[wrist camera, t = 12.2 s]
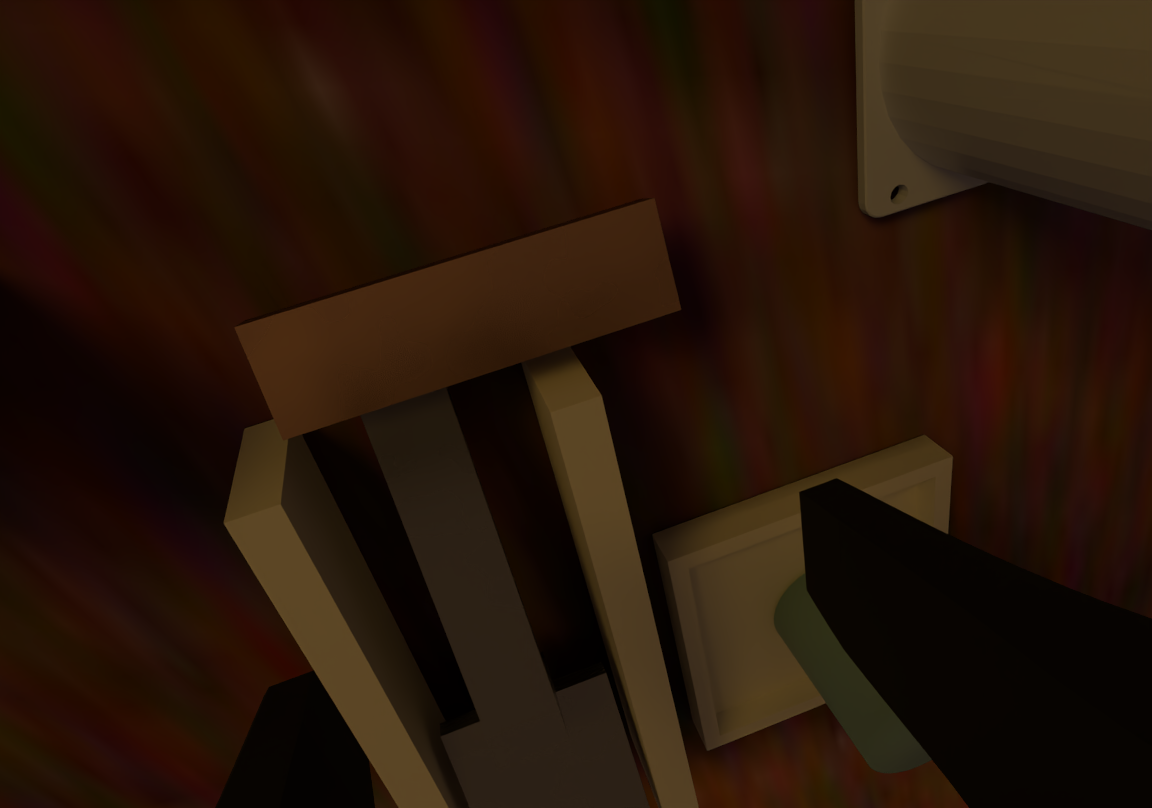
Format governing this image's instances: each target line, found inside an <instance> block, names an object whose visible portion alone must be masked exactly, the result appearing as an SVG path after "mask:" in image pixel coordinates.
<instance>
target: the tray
mask: <svg viewBox="0 0 1152 808" xmlns="http://www.w3.org/2000/svg"><path fill="white" fill-rule="evenodd" d="M952 461H953V456H952V455H951V454H949V453H948V452H947V451H945V450H944V449H943V448H941V447H940V446H939V445H937V444H936V443H935V442H933V441H932V440H931V439H930V438H928V437H927V436H926V435H922V436H919V437H917V438H914V439H911V440H909V441H906V442H903V443H900V444H898V445H895V446H892V447H889V448H887V449H884V450H881V451H878V452H876V453H873V454H870V455H867V456H865V457H862V458H859V459H856V460H854V461H851V462H848V463H846V464H843V465H840V466H837V467H835V468H832V469H829V470H826V471H824V472H821V473H818V474H815V475H813V476H810V477H807V478H804V479H802V480H799V481H796V482H793V483H791V484H788V485H785V486H782V487H780V488H777V489H774V490H772V491H769V492H766V493H763V494H761V495H758V496H755V497H752V498H750V499H747V500H744V501H741V502H739V503H736V504H733V505H730V506H728V507H725V508H722V509H719V510H717V511H714V512H711V513H708V514H706V515H703V516H700V517H698V518H695V519H692V520H689V521H687V522H684V523H681V524H678V525H676V526H673V527H670V528H667V529H665V530H662V531H659V532H656V533H654V534H652V537H653V542H654V546H655V551H656V556H657V560H658V565H659V569H660V574H661V578H662V583H663V588H664V592H665V597H666V601H667V606H668V610H669V615H670V620H671V624H672V629H673V633H674V638H675V642H676V647H677V652H678V656H679V661H680V665H681V670H682V674H683V679H684V684H685V688H686V693H687V697H688V702H689V706H690V711H691V716H692V720H693V723H694V725H695V727H696V729H697V731H698V733H699V735H700V737H701V739H702V741H703V743H704V745H705V747H706V750H707V751H709V750H711V749H714V748H716V747H719V746H721V745H724V744H726V743H729V742H731V741H734V740H736V739H739V738H741V737H743V736H746V735H748V734H751V733H753V732H756V731H758V730H761V729H763V728H766V727H768V726H771V725H773V724H776V723H778V722H780V721H783V720H785V719H788V718H790V717H793V716H795V715H798V714H800V713H803V712H805V711H808V710H810V709H812V708H815V707H817V706H820V705H822V704H825V703H826V702H825V701H824V699H823V698H822V696H821V695H820V693H819V692H818V691H817V689H816V688H815V686H814V685H813V683H812V682H811V680H810V679H809V677H808V676H807V675H806V673H805V672H804V670H803V669H802V667H801V666H800V664H799V663H798V661H797V660H796V658H795V657H794V656H793V654H792V653H791V651H790V650H789V648H788V647H787V645H786V644H785V642H784V641H783V639H782V638H781V637H780V635H779V634H778V632H777V630H776V628H775V625H774V613H775V609H776V607H777V604H778V602H779V600H780V598H781V597H782V595H783V594H784V592H785V591H786V590H787V589H788V588H789V586H790V585H791V584H792V583H793V582H794V581H796V580H797V579H798V578H799V577H800V576H802V575H803V574H805V563H804V550H803V537H802V524H801V511H800V498H799V492H800V491H803V490H806V489H808V488H811V487H814V486H817V485H819V484H822V483H825V482H827V481H830V480H833V479H836V478H838V479H840V480H842V481H844V482H846V483H848V484H850V485H852V486H854V487H856V488H858V489H860V490H862V491H864V492H865V493H867V494H869V495H871V496H873V497H875V498H877V499H879V500H881V501H883V502H885V503H887V504H889V505H891V506H893V507H895V508H897V509H899V510H901V511H902V512H904V513H906V514H908V515H910V516H912V517H914V518H916V519H918V520H920V521H922V522H924V523H926V524H928V525H930V526H932V527H934V528H936V529H938V530H940V531H942V532H944V533H947V534H948V526H949V510H950V494H951V477H952Z"/></svg>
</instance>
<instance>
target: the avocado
mask: <svg viewBox="0 0 1152 808" xmlns="http://www.w3.org/2000/svg"><path fill="white" fill-rule="evenodd" d="M774 625H775V628H776V630H777V632H778V634H779V635H780V637H781V638H782V639H783V641H784V642H785V644H786V645H787V647H788V648H789V650H790V651H791V653H792V654H793V656H794V657H795V658H796V660H797V661H798V663H799V664H800V666H801V667H802V669H803V670H804V672H805V673H806V675H807V676H808V677H809V679H810V680H811V682H812V683H813V685H814V686H815V688H816V689H817V691H818V692H819V693H820V695H821V696H822V698H823V699H824V701H825V702H826V704H827V705H828V707H829V708H830V710H831V711H832V712H833V714H834V715H835V717H836V718H837V720H838V721H839V723H840V724H841V726H842V727H843V728H844V730H845V731H846V733H847V734H848V736H849V737H850V739H851V740H852V742H853V743H854V745H855V746H856V747H857V749H858V750H859V752H860V753H861V755H862V756H863V758H864V759H865V761H866V762H867V763H868V765H869V766H870V767H871V768H872V769H873V770H875V771H878V772H881V773H897V772H902V771H906V770H910V769H912V768H915V767H918V766H920V765H922V764H924V763H926V762H928V761H930V760H932V759H931V758H930V757H929V755H928V754H927V753H926V752H925V750H924V749H923V748H922V747H921V745H920V744H919V743H918V742H917V740H916V739H915V738H914V737H913V736H912V734H911V733H910V732H909V731H908V729H907V728H906V727H905V726H904V724H903V723H902V722H901V721H900V719H899V718H898V717H897V716H896V715H895V713H894V712H893V711H892V710H891V708H890V707H889V706H888V705H887V703H886V702H885V701H884V700H883V699H882V697H881V696H880V695H879V694H878V692H877V691H876V690H875V689H874V687H873V686H872V685H871V684H870V682H869V681H868V680H867V679H866V677H865V676H864V675H863V673H862V672H861V671H860V670H859V668H858V667H857V666H856V665H855V663H854V662H853V661H852V660H851V658H850V657H849V656H848V655H847V653H846V652H845V651H844V649H843V648H842V646H841V645H840V643H839V642H838V640H837V638H836V637H835V635H834V634H833V632H832V631H831V629H830V628H829V626H828V625H827V623H826V621H825V620H824V618H823V616H822V615H821V613H820V611H819V610H818V608H817V607H816V605H815V603H814V602H813V600H812V598H811V597H810V595H809V593H808V592H807V589H806V576H805V574H803V575H802V576H800V577H799V578H798V579H797V580H796V581H794V582H793V583H792V584H791V585H790V586H789V588H788V589H787V590H786V591H785V592H784V594H783V595H782V597H781V598H780V600H779V602H778V604H777V607H776V609H775V613H774Z"/></svg>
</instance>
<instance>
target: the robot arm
mask: <svg viewBox="0 0 1152 808" xmlns="http://www.w3.org/2000/svg"><path fill="white" fill-rule="evenodd" d="M855 43H856V98H857V154H858V203H859V207H860V209H861V211H862V212H863V213H865V214H867V215H869V216H872V217H874V218H879V217H884V216H887V215H890V214H893V213H896V212H899V211H902V210H905V209H908V208H912V207H915V206H918V205H921V204H924V203H927V202H930V201H933V200H936V199H939V198H942V197H946V196H949V195H952V194H955V193H958V192H961V191H964V190H967V189H970V188H973V187H976V186H980V185H983V184H986V183H989V182H990V183H994V184H997V185H1000V186H1004V187H1007V188H1010V189H1014V190H1017V191H1021V192H1024V193H1027V194H1031V195H1034V196H1037V197H1041V198H1044V199H1048V200H1051V201H1054V202H1058V203H1061V204H1065V205H1068V206H1071V207H1075V208H1078V209H1081V210H1085V211H1088V212H1092V213H1095V214H1098V215H1102V216H1105V217H1108V218H1112V219H1115V220H1119V221H1122V222H1125V223H1129V224H1132V225H1135V226H1139V227H1142V228H1146V229H1149V230H1152V0H855ZM896 186H898V187H899V190H898V194H897V195H896V197H895V198H894V199H892V200H891V198H890V197H891V192H892V191H893V189H894V188H895V187H896ZM799 498H800V511H801V524H802V537H803V550H804V563H805V576H806V589H807V592H808V593H809V595H810V597H811V598H812V600H813V602H814V603H815V605H816V607H817V608H818V610H819V611H820V613H821V615H822V616H823V618H824V620H825V621H826V623H827V625H828V626H829V628H830V629H831V631H832V632H833V634H834V635H835V637H836V638H837V640H838V642H839V643H840V645H841V646H842V648H843V649H844V651H845V652H846V653H847V655H848V656H849V657H850V658H851V660H852V661H853V662H854V663H855V665H856V666H857V667H858V668H859V670H860V671H861V672H862V673H863V675H864V676H865V677H866V679H867V680H868V681H869V682H870V684H871V685H872V686H873V687H874V689H875V690H876V691H877V692H878V694H879V695H880V696H881V697H882V699H883V700H884V701H885V702H886V703H887V705H888V706H889V707H890V708H891V710H892V711H893V712H894V713H895V715H896V716H897V717H898V718H899V719H900V721H901V722H902V723H903V724H904V726H905V727H906V728H907V729H908V731H909V732H910V733H911V734H912V736H913V737H914V738H915V739H916V740H917V742H918V743H919V744H920V745H921V747H922V748H923V749H924V750H925V752H926V753H927V754H928V755H929V757H930V758H931V759H932V760H933V762H934V763H935V764H936V765H937V766H938V768H939V769H940V770H941V771H942V773H943V774H944V775H945V776H946V778H947V779H948V780H949V781H950V783H951V784H952V785H953V787H954V788H955V789H956V791H957V792H958V793H959V795H960V796H961V797H962V799H963V800H964V801H965V803H966V804H967V805H968V807H969V808H1152V619H1151V618H1148V617H1145V616H1143V615H1140V614H1137V613H1134V612H1131V611H1129V610H1126V609H1123V608H1120V607H1117V606H1114V605H1112V604H1109V603H1106V602H1103V601H1101V600H1098V599H1096V598H1093V597H1090V596H1088V595H1085V594H1083V593H1080V592H1077V591H1075V590H1072V589H1070V588H1067V587H1065V586H1063V585H1060V584H1058V583H1056V582H1053V581H1051V580H1048V579H1046V578H1044V577H1041V576H1039V575H1036V574H1034V573H1032V572H1029V571H1027V570H1025V569H1022V568H1020V567H1018V566H1015V565H1013V564H1011V563H1009V562H1006V561H1004V560H1002V559H1000V558H998V557H995V556H993V555H991V554H989V553H987V552H984V551H982V550H980V549H978V548H976V547H974V546H972V545H969V544H967V543H965V542H963V541H961V540H959V539H957V538H955V537H953V536H951V535H949V534H947V533H944V532H942V531H940V530H938V529H936V528H934V527H932V526H930V525H928V524H926V523H924V522H922V521H920V520H918V519H916V518H914V517H912V516H910V515H908V514H906V513H904V512H902V511H901V510H899V509H897V508H895V507H893V506H891V505H889V504H887V503H885V502H883V501H881V500H879V499H877V498H875V497H873V496H871V495H869V494H867V493H865V492H864V491H862V490H860V489H858V488H856V487H854V486H852V485H850V484H848V483H846V482H844V481H842V480H840V479H838V478H836V479H833V480H830V481H827V482H825V483H822V484H819V485H817V486H814V487H811V488H808V489H806V490H803V491H800V492H799ZM215 808H375V804H374V796H373V789H372V781H371V774H370V767H369V759H368V758H367V756H366V755H365V753H364V751H363V750H362V748H361V747H360V745H359V743H358V742H357V740H356V738H355V737H354V735H353V734H352V732H351V730H350V729H349V727H348V725H347V724H346V722H345V721H344V719H343V717H342V716H341V714H340V712H339V711H338V709H337V708H336V706H335V704H334V703H333V701H332V700H331V698H330V696H329V695H328V693H327V691H326V690H325V688H324V687H323V685H322V683H321V682H320V680H319V678H318V677H317V675H316V674H315V672H314V671H311V672H309V673H306V674H303V675H300V676H298V677H295V678H292V679H290V680H287V681H284V682H281V683H279V684H276V685H273V686H271V687H269V688H268V690H267V692H266V693H265V695H264V697H263V700H262V702H261V704H260V707H259V709H258V711H257V713H256V716H255V718H254V720H253V723H252V725H251V728H250V730H249V732H248V735H247V737H246V739H245V742H244V744H243V746H242V749H241V751H240V753H239V756H238V758H237V760H236V762H235V765H234V767H233V769H232V772H231V774H230V776H229V778H228V781H227V783H226V785H225V787H224V790H223V792H222V794H221V797H220V799H219V801H218V803H217V805H216V807H215Z"/></svg>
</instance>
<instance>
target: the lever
mask: <svg viewBox="0 0 1152 808" xmlns="http://www.w3.org/2000/svg"><path fill="white" fill-rule="evenodd" d="M679 310H681V306H680V302H679V298H678V294H677V290H676V285H675V281H674V277H673V273H672V269H671V265H670V261H669V257H668V252H667V248H666V244H665V240H664V236H663V232H662V228H661V224H660V220H659V215H658V211H657V207H656V203H655V199H654V198H644V199H638V200H635V201H632V202H628V203H625V204H622V205H619V206H615V207H612V208H609V209H606V210H602V211H599V212H596V213H593V214H589V215H586V216H583V217H580V218H576V219H573V220H570V221H567V222H563V223H560V224H557V225H554V226H550V227H547V228H544V229H541V230H537V231H534V232H531V233H528V234H524V235H521V236H518V237H514V238H511V239H508V240H505V241H501V242H498V243H495V244H492V245H488V246H485V247H482V248H479V249H475V250H472V251H469V252H466V253H462V254H459V255H456V256H453V257H449V258H446V259H443V260H440V261H436V262H433V263H430V264H427V265H423V266H420V267H417V268H414V269H410V270H407V271H404V272H401V273H397V274H394V275H391V276H388V277H384V278H381V279H378V280H375V281H371V282H368V283H365V284H361V285H358V286H355V287H352V288H348V289H345V290H342V291H339V292H335V293H332V294H329V295H326V296H322V297H319V298H316V299H313V300H309V301H306V302H303V303H300V304H296V305H293V306H290V307H287V308H283V309H280V310H277V311H274V312H270V313H267V314H264V315H261V316H257V317H254V318H251V319H248V320H245V321H243V322H242V323H240V324H239V325H237V326H235V327H234V328H235V330H236V332H237V335H238V337H239V339H240V342H241V344H242V346H243V349H244V351H245V353H246V356H247V358H248V360H249V363H250V365H251V367H252V370H253V372H254V374H255V377H256V379H257V381H258V384H259V386H260V388H261V391H262V393H263V395H264V397H265V400H266V402H267V404H268V407H269V409H270V411H271V414H272V416H273V418H274V421H275V423H276V425H277V428H278V430H279V432H280V435H281V437H282V439H283V440H286V439H289V438H292V437H295V436H298V435H301V434H305V433H308V432H311V431H314V430H317V429H320V428H323V427H326V426H329V425H332V424H335V423H338V422H341V421H344V420H347V419H350V418H353V417H356V416H359V415H360V416H361V418H362V421H363V423H364V426H365V428H366V431H367V433H368V436H369V439H370V441H371V444H372V446H373V449H374V451H375V454H376V456H377V459H378V462H379V464H380V467H381V469H382V472H383V474H384V477H385V479H386V482H387V484H388V487H389V490H390V492H391V495H392V497H393V500H394V502H395V505H396V507H397V510H398V513H399V515H400V518H401V520H402V523H403V525H404V528H405V530H406V533H407V536H408V538H409V541H410V543H411V546H412V548H413V551H414V553H415V556H416V558H417V561H418V564H419V566H420V569H421V571H422V574H423V576H424V579H425V581H426V584H427V587H428V589H429V592H430V594H431V597H432V599H433V602H434V604H435V607H436V609H437V612H438V615H439V617H440V620H441V622H442V625H443V627H444V630H445V632H446V635H447V638H448V640H449V643H450V645H451V648H452V650H453V653H454V655H455V658H456V661H457V663H458V666H459V668H460V671H461V673H462V676H463V678H464V681H465V683H466V686H467V689H468V691H469V694H470V696H471V699H472V701H473V704H474V706H475V709H476V710H473V711H471V712H468V713H466V714H463V715H460V716H458V717H455V718H453V719H450V720H447V721H445V722H442V723H440V737H441V739H442V742H443V744H444V747H445V749H446V751H447V754H448V756H449V759H450V761H451V763H452V766H453V768H454V771H455V773H456V776H457V778H458V780H459V783H460V785H461V788H462V790H463V792H464V795H465V797H466V800H467V802H468V804H469V807H470V808H650V807H649V804H648V801H647V798H646V795H645V792H644V789H643V786H642V782H641V779H640V776H639V773H638V770H637V767H636V764H635V761H634V758H633V755H632V751H631V748H630V745H629V742H628V739H627V736H626V733H625V730H624V727H623V723H622V720H621V717H620V714H619V711H618V708H617V705H616V702H615V699H614V695H613V692H612V689H611V686H610V683H609V680H608V677H607V674H606V671H605V669H604V666H603V664H602V661H601V662H599V663H596V664H593V665H591V666H588V667H586V668H583V669H580V670H578V671H575V672H573V673H570V674H567V675H565V676H562V677H560V678H557V679H554V680H552V677H551V675H550V672H549V669H548V666H547V663H546V660H545V657H544V655H543V652H541V653H540V650H539V648H538V645H537V642H536V639H535V636H534V633H533V630H532V628H531V625H530V622H529V619H528V616H527V613H526V610H525V608H524V605H523V602H522V599H521V596H520V593H519V590H518V588H517V585H516V582H515V579H514V576H513V573H512V570H511V568H510V565H509V562H508V559H507V556H506V553H505V550H504V548H503V545H502V542H501V539H500V536H499V533H498V530H497V528H496V525H495V522H494V519H493V516H492V513H491V511H490V508H489V505H488V502H487V499H486V496H485V493H484V491H483V488H482V485H481V482H480V479H479V476H478V473H477V471H476V468H475V465H474V462H473V459H472V456H471V453H470V451H469V448H468V445H467V442H466V439H465V436H464V433H463V431H462V428H461V425H460V422H459V419H458V416H457V413H456V411H455V408H454V405H453V402H452V399H451V396H450V393H449V391H448V388H447V387H448V386H451V385H454V384H457V383H460V382H463V381H466V380H469V379H472V378H475V377H478V376H481V375H484V374H487V373H490V372H493V371H496V370H499V369H502V368H506V367H509V366H512V365H515V364H518V363H521V362H524V361H527V360H530V359H533V358H536V357H539V356H542V355H545V354H548V353H551V352H554V351H557V350H560V349H563V348H566V347H569V346H573V345H576V344H579V343H582V342H585V341H588V340H591V339H594V338H597V337H600V336H603V335H606V334H609V333H612V332H615V331H618V330H621V329H624V328H627V327H630V326H633V325H636V324H640V323H643V322H646V321H649V320H652V319H655V318H658V317H661V316H664V315H667V314H670V313H673V312H676V311H679Z"/></svg>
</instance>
